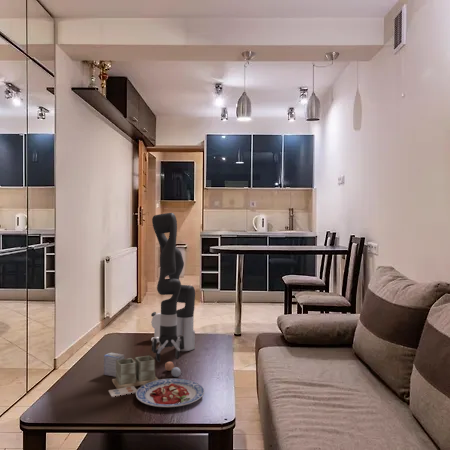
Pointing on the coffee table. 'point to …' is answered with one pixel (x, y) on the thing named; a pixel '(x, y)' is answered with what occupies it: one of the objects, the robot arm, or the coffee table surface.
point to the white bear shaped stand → (156, 324)
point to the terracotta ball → (169, 366)
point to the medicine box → (111, 363)
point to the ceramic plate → (170, 392)
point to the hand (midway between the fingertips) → (167, 360)
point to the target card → (122, 391)
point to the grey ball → (175, 372)
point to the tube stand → (134, 372)
